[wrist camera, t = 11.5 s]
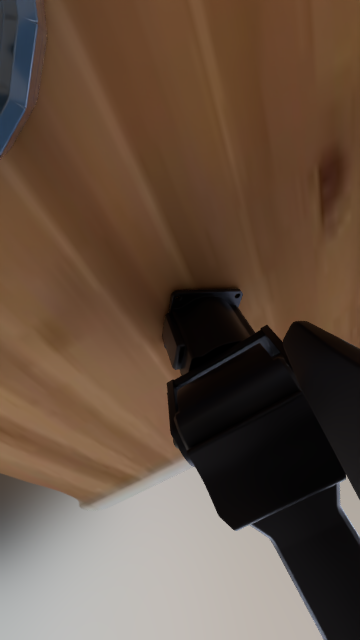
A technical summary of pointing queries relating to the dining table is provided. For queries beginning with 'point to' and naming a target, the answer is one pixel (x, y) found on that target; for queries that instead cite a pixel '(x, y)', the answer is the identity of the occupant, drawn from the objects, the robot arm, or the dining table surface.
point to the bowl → (19, 64)
